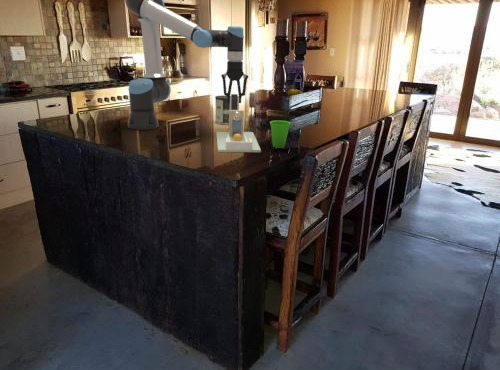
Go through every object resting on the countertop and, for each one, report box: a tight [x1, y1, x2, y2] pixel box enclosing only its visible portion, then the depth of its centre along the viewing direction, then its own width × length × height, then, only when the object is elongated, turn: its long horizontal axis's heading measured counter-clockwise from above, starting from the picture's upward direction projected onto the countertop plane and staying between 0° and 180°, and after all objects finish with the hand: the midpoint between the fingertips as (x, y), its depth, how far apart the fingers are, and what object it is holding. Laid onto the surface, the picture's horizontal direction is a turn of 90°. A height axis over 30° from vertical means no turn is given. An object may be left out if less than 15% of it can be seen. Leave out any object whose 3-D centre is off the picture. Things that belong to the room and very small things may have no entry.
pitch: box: [215, 109, 262, 153], centre depth 177 cm, size 18×32×13 cm, turn 6°
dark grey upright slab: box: [230, 93, 242, 138], centre depth 188 cm, size 4×25×16 cm, turn 6°
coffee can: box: [214, 95, 230, 125], centre depth 216 cm, size 10×10×14 cm
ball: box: [233, 133, 242, 142], centre depth 175 cm, size 4×4×4 cm
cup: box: [269, 120, 291, 149], centre depth 172 cm, size 9×9×11 cm
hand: (234, 109), depth 197 cm, fingers closed on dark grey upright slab, 3 cm apart
